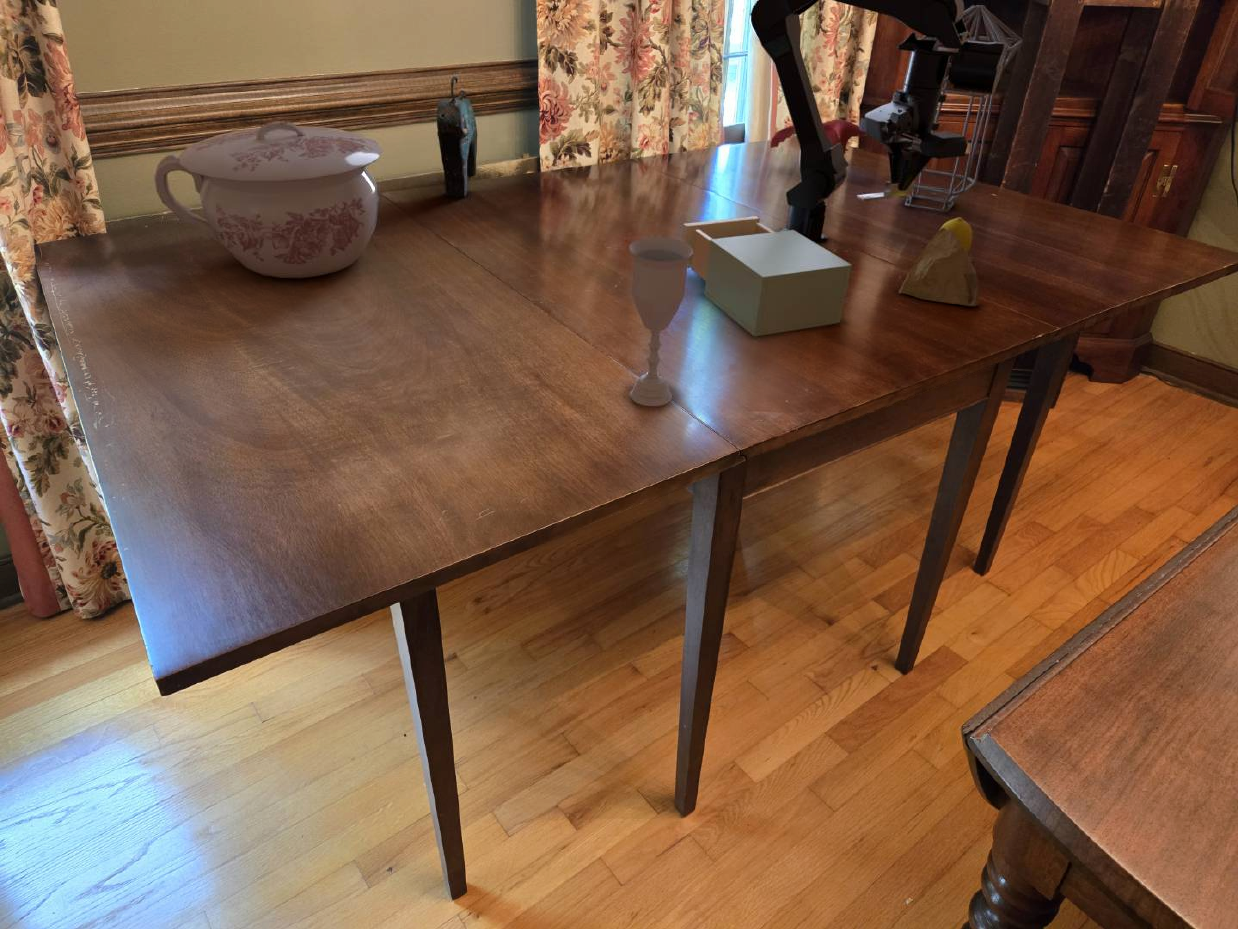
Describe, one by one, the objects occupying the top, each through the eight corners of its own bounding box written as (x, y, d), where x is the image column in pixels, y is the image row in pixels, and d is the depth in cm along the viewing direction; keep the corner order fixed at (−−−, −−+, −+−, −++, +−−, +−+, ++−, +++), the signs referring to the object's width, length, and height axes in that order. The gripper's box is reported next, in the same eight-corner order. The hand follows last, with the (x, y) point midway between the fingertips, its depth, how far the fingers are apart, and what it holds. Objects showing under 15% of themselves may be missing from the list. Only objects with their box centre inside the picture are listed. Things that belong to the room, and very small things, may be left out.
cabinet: (704, 295, 123) (709, 239, 118) (784, 284, 128) (793, 229, 123) (754, 337, 112) (762, 277, 107) (840, 322, 117) (852, 264, 112)
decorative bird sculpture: (765, 179, 190) (771, 139, 175) (769, 143, 192) (776, 101, 177) (890, 190, 186) (907, 150, 172) (893, 153, 188) (911, 111, 174)
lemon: (966, 272, 135) (980, 224, 130) (931, 268, 135) (944, 220, 131) (961, 260, 139) (975, 213, 134) (928, 257, 140) (940, 210, 135)
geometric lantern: (978, 203, 166) (1034, 6, 146) (959, 223, 155) (1017, 13, 135) (901, 188, 173) (945, -3, 153) (877, 207, 162) (921, 3, 142)
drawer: (666, 255, 133) (669, 213, 129) (736, 247, 138) (741, 206, 134) (720, 299, 120) (726, 254, 116) (796, 288, 124) (803, 244, 120)
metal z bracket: (904, 192, 136) (908, 178, 135) (912, 195, 135) (915, 181, 134) (856, 197, 133) (859, 183, 131) (863, 201, 131) (866, 187, 130)
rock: (1001, 289, 123) (952, 258, 129) (997, 252, 116) (945, 221, 123) (945, 337, 124) (899, 304, 130) (937, 303, 117) (889, 270, 123)
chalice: (620, 380, 101) (626, 236, 90) (675, 379, 101) (687, 237, 91) (625, 411, 95) (632, 261, 84) (683, 411, 95) (698, 261, 85)
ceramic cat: (468, 200, 155) (461, 85, 144) (434, 198, 155) (424, 83, 144) (484, 170, 171) (478, 65, 160) (453, 169, 171) (445, 64, 160)
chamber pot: (430, 251, 133) (417, 115, 121) (312, 313, 113) (282, 157, 101) (296, 220, 142) (271, 91, 130) (163, 274, 122) (119, 126, 110)
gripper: (842, 75, 129) (824, 176, 138) (924, 100, 115) (897, 211, 124) (898, 72, 133) (876, 171, 142) (983, 96, 119) (954, 204, 128)
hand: (898, 188), depth 134 cm, fingers closed on metal z bracket, 2 cm apart
